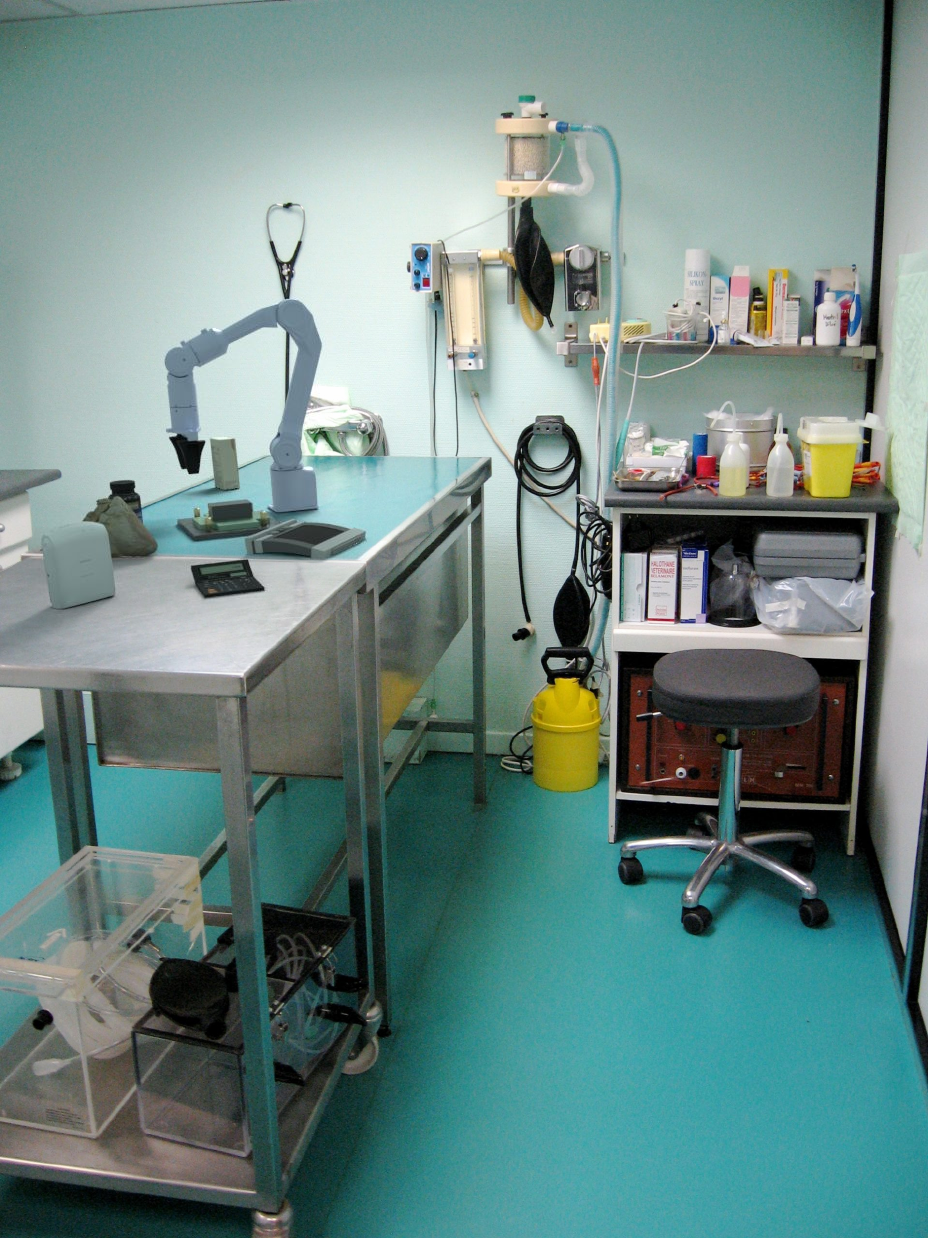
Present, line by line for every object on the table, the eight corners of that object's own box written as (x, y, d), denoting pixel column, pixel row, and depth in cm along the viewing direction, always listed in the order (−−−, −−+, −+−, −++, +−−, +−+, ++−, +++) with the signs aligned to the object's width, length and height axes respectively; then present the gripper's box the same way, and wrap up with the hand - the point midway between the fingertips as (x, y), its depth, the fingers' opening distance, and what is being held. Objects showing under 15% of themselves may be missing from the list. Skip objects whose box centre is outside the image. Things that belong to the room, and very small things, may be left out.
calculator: (205, 600, 165) (203, 581, 164) (192, 582, 175) (190, 564, 174) (264, 592, 168) (263, 574, 167) (248, 575, 178) (247, 558, 178)
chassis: (263, 514, 226) (261, 498, 225) (286, 530, 211) (285, 513, 210) (177, 524, 219) (176, 507, 218) (195, 540, 204) (193, 522, 203)
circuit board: (256, 512, 224) (255, 494, 222) (274, 524, 211) (272, 505, 210) (189, 519, 218) (187, 500, 217) (203, 532, 206) (201, 512, 205)
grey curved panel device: (291, 519, 207) (366, 516, 201) (294, 542, 208) (369, 540, 203) (244, 538, 192) (324, 536, 186) (248, 563, 193) (327, 561, 187)
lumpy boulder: (135, 573, 187) (61, 541, 189) (161, 579, 198) (91, 549, 200) (159, 513, 187) (86, 483, 189) (184, 523, 198) (114, 494, 200)
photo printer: (60, 611, 159) (49, 530, 156) (45, 606, 162) (34, 527, 158) (120, 596, 167) (111, 518, 163) (105, 591, 170) (96, 515, 166)
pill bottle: (135, 541, 204) (128, 484, 201) (106, 540, 206) (99, 484, 202) (150, 534, 210) (144, 479, 207) (122, 533, 211) (115, 478, 208)
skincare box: (240, 488, 258) (236, 438, 255) (223, 490, 256) (219, 439, 252) (230, 485, 263) (226, 435, 260) (213, 487, 261) (209, 437, 258)
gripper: (158, 404, 226) (164, 468, 230) (170, 410, 213) (177, 477, 217) (191, 402, 229) (197, 465, 233) (205, 408, 216) (211, 474, 220)
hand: (190, 471), depth 225 cm, fingers open, 7 cm apart
